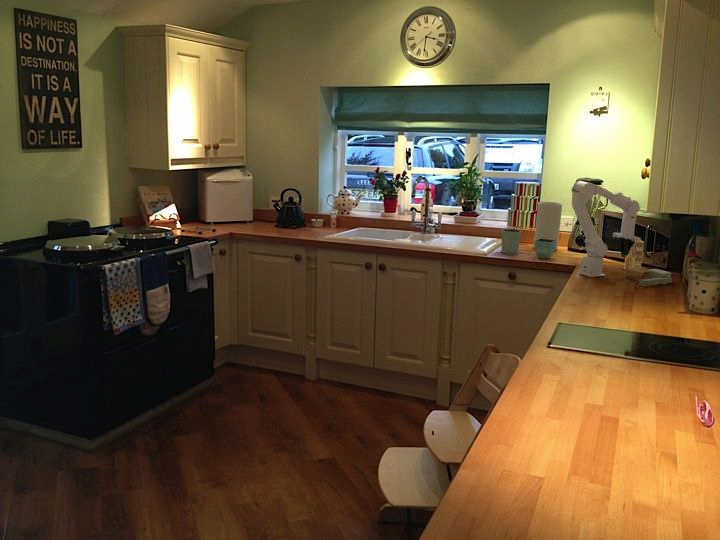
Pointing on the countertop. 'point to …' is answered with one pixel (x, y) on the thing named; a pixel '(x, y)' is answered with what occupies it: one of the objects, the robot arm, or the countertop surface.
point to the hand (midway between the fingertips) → (624, 254)
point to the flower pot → (544, 247)
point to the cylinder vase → (548, 221)
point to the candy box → (634, 256)
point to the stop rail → (655, 281)
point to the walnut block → (637, 274)
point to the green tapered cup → (510, 241)
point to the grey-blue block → (658, 273)
